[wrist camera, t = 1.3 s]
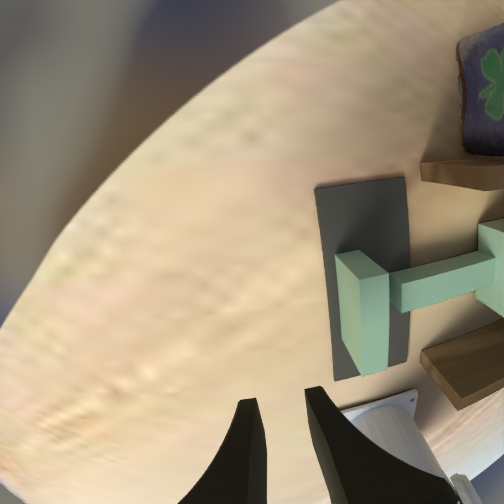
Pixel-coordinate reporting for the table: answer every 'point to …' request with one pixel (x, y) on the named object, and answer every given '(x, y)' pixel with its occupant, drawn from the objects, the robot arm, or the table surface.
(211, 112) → the table surface
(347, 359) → the mat
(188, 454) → the table surface
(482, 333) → the tunnel
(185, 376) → the table surface
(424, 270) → the teal block
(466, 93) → the flask
